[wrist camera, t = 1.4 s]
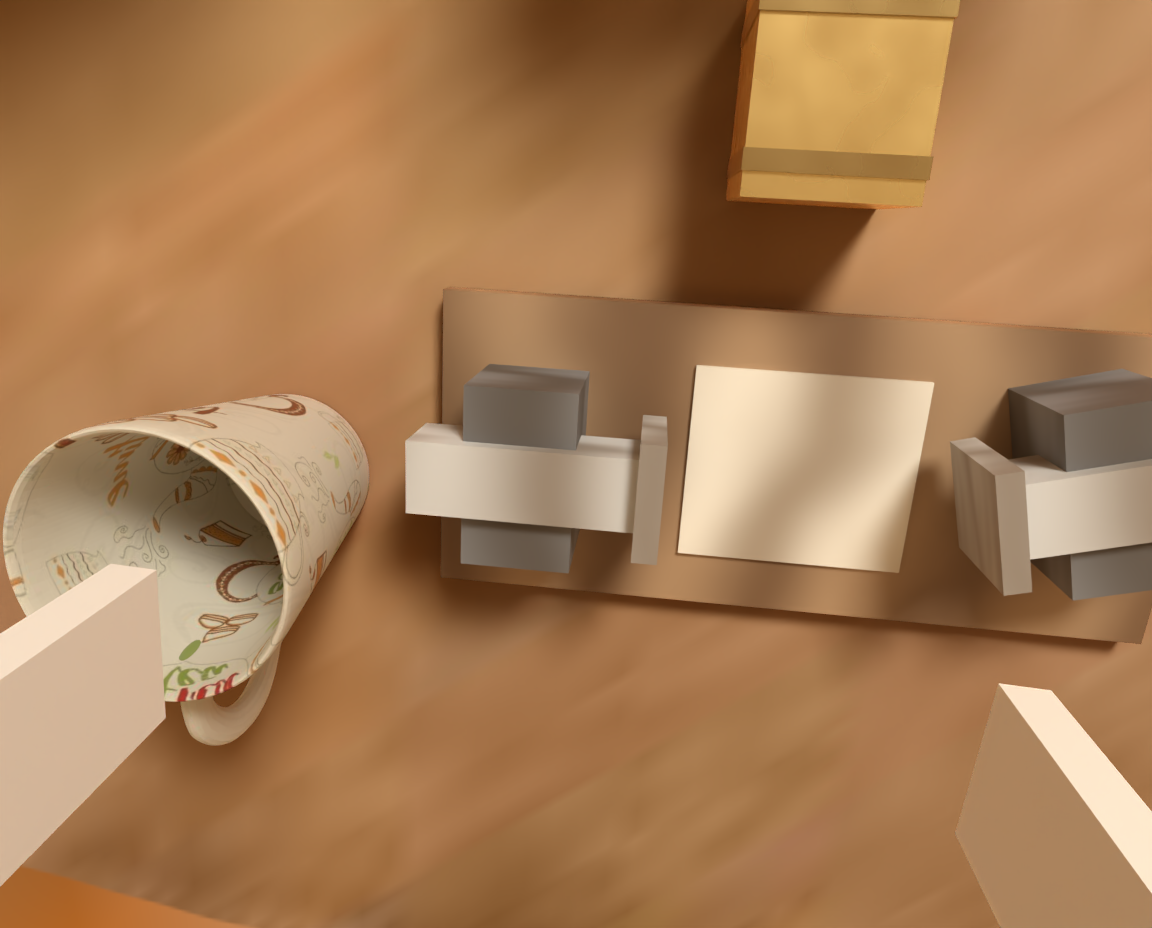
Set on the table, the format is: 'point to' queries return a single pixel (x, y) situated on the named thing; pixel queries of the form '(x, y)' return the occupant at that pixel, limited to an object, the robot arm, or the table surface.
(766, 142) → the block
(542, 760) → the table surface
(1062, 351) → the shaft bed
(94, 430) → the mug
